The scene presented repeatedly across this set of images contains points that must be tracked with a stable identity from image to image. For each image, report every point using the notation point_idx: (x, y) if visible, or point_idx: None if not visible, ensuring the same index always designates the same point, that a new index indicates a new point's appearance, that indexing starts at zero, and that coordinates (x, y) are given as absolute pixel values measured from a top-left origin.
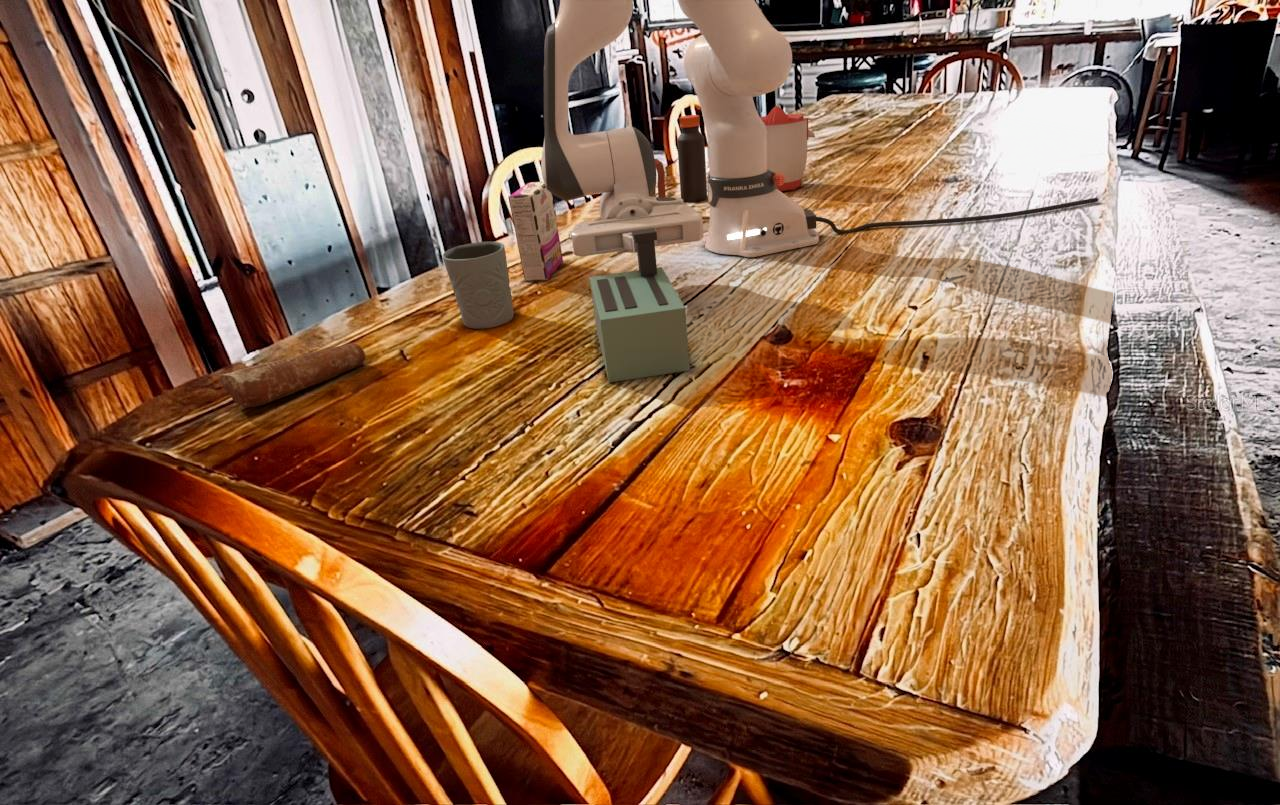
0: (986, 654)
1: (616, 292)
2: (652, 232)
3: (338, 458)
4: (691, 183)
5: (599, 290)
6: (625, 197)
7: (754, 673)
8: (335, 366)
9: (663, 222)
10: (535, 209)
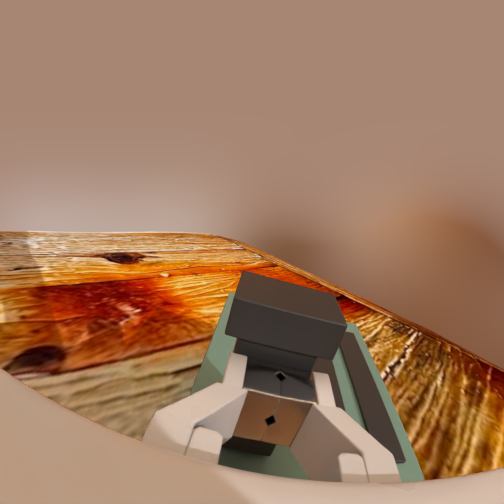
0: (209, 238)
1: (342, 383)
2: (260, 275)
3: (493, 381)
4: None
5: (382, 402)
6: None
7: (272, 258)
8: None
9: (50, 405)
10: None
